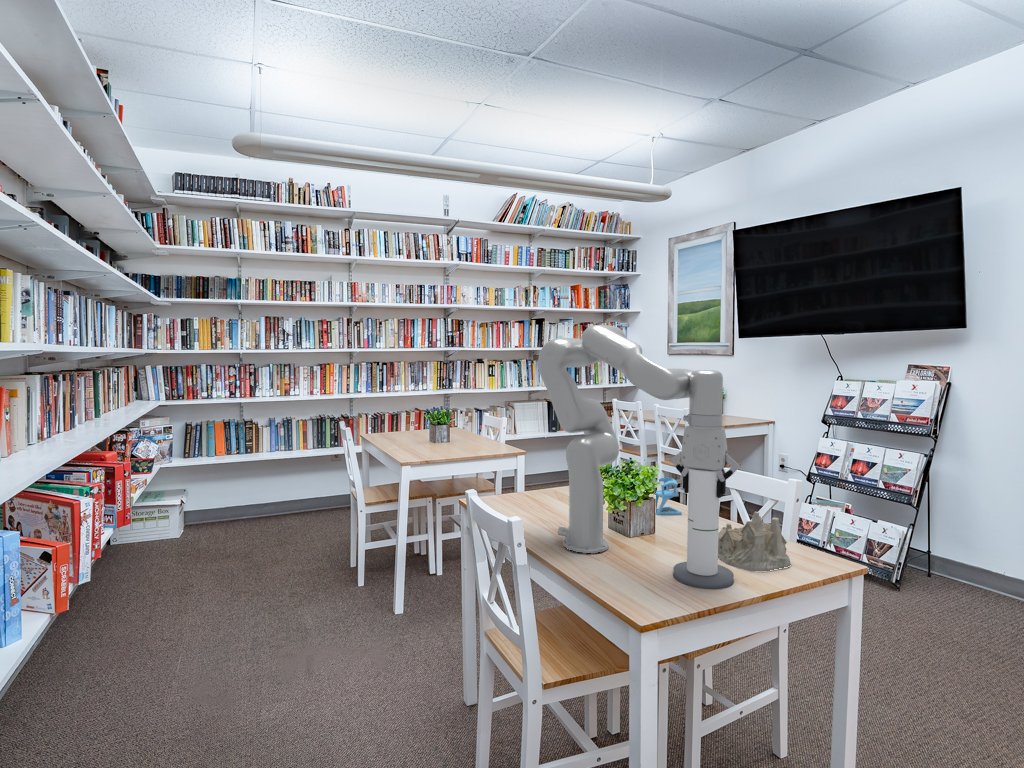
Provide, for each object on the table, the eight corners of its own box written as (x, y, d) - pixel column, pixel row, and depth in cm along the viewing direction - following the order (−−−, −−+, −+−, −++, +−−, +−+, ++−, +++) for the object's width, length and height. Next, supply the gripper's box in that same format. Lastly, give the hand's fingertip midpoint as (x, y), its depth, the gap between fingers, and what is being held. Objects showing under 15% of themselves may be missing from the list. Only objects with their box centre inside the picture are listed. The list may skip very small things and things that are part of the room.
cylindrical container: (705, 563, 146) (707, 465, 145) (723, 573, 139) (726, 470, 138) (680, 566, 144) (682, 466, 142) (698, 577, 137) (700, 472, 136)
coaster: (664, 580, 140) (665, 574, 140) (683, 563, 151) (683, 557, 151) (724, 593, 132) (724, 587, 132) (739, 574, 143) (740, 568, 143)
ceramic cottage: (800, 567, 148) (797, 509, 148) (744, 576, 144) (740, 515, 144) (760, 551, 163) (757, 498, 163) (708, 558, 159) (705, 504, 159)
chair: (648, 511, 202) (648, 477, 201) (669, 508, 204) (669, 475, 204) (660, 517, 194) (660, 481, 194) (682, 514, 197) (682, 479, 196)
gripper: (664, 420, 141) (663, 492, 142) (739, 425, 132) (737, 503, 133) (675, 417, 148) (673, 486, 149) (746, 422, 138) (745, 496, 139)
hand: (703, 493), depth 141 cm, fingers closed on cylindrical container, 7 cm apart
